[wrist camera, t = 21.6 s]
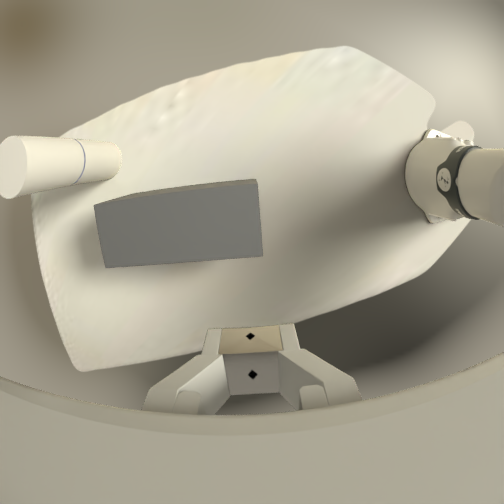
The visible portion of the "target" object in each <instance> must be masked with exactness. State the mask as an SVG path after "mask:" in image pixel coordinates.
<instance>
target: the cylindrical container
mask: <svg viewBox="0 0 504 504" xmlns="http://www.w3.org/2000/svg"><path fill="white" fill-rule="evenodd" d="M121 164H122V155H121V151H120V149H119V148H118V146H116V145H115V144H114V143H111V142H104V141H94V140H83V139H71V138H57V137H38V136H37V137H36V136H10V137H8V138H6V139H5V140H4V141H3V142H2V143H1V144H0V195H1V196H2V197H4V198H7V199H10V198H15V197H19V196H23V195H28V194H32V193H37V192H41V191H46V190H51V189H56V188H61V187H66V186H71V185H77V184H83V183H89V182H95V181H102V180H108V179H111V178H113V177H114V176H115V175H116V174H117V173H118V171H119V170H120V167H121Z"/></svg>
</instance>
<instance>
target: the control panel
mask: <svg viewBox="0 0 504 504" xmlns="http://www.w3.org/2000/svg"><path fill="white" fill-rule="evenodd" d="M94 211H95V217H96V223H97V228H98V234H99V239H100V244H101V249H102V253H103V258H104V262H105V267H106V268H114V267H128V266H142V265H156V264H169V263H183V262H196V261H209V260H222V259H235V258H248V257H261V256H263V249H262V235H261V222H260V209H259V197H258V184H257V181H256V179H248V180H236V181H226V182H216V183H207V184H198V185H190V186H182V187H174V188H167V189H160V190H153V191H147V192H140V193H134V194H130V195H126V196H123V197H119V198H116V199H112V200H109V201H105V202H102V203H99V204H95V205H94Z"/></svg>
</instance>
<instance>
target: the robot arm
mask: <svg viewBox="0 0 504 504" xmlns="http://www.w3.org/2000/svg"><path fill="white" fill-rule="evenodd" d="M436 136H437V137H436ZM405 178H406V185H407V189H408V192H409V194H410V196H411V198H412V199H413V201H414V202H415V203H416V205H417V206H419V207H420V208H421V209H422V210H423V211H424V212H425V215H426V217H427V219H428V220H429V222H430V223H438V222H441V221H445V220H451V221H456V219H460V218H462V217H465V218H469V219H475V220H479V219H482V220H485V221H488V222H491V223H493V224H496V225H499V226H502V227H504V148H501V149H483V148H481V147H478V146H474V143H473V142H472V141H469V140H464V142H463V139H461V138H457V139H455V138H453V137H450V136H448V135H446V134H444V133H441V132H439V131H436V130H434V129H429V130H428V131H427V132H426V134H425V136H424V138H423V140H422V141H421V142H420V143H418V144H417V145H416V146H415V147H414V148H413V149H412V151H411V152H410V154H409V157H408V159H407V163H406V169H405ZM437 217H438V218H437ZM277 392H280V394H281V395H282V396H283V397H284V398H285V399H286V400H287V401H288V402H289V403H290V404H291V405H292V406H293V407H294V409H295V410H296V411H291V412H281V413H267V414H248V415H215V414H216V412H217V411H218V410H219V409H220V407H222V405H223V404H224V403H225V402H226V401H227V399H228V398H229V397H230V395H240V394H256V393H277ZM0 504H504V352H502V353H500V354H498V355H496V356H494V357H492V358H490V359H487V360H485V361H483V362H481V363H478V364H476V365H474V366H472V367H469V368H467V369H464V370H462V371H459V372H457V373H454V374H452V375H449V376H446V377H443V378H440V379H437V380H434V381H432V382H428V383H426V384H423V385H419V386H416V387H413V388H409V389H406V390H402V391H398V392H395V393H391V394H387V395H383V396H379V397H375V398H370V399H366V400H362V397H361V395H360V392H359V390H358V388H357V385H356V383H355V381H354V378H352V377H351V376H349V375H347V374H345V373H344V372H342V371H340V370H339V369H337V368H335V367H334V366H332V365H330V364H329V363H327V362H325V361H323V360H322V359H320V358H319V357H317V356H315V355H314V354H312V353H310V352H308V351H307V350H306V349H300V346H299V343H298V338H297V334H296V330H295V327H294V324H293V323H289V324H281V325H272V326H262V327H242V328H223V329H222V328H213V329H208V330H207V334H206V338H205V342H204V346H203V350H202V354H201V355H197V356H195V357H194V358H193V359H191V360H190V361H189V362H187V363H186V364H184V365H183V366H181V367H180V368H179V369H177V370H176V371H175V372H173V373H172V374H170V375H169V376H167V377H166V378H164V379H163V380H161V381H160V382H158V383H157V384H156V385H154V386H153V387H151V388H150V389H149V392H148V394H147V397H146V400H145V401H144V404H143V407H142V409H141V410H132V409H125V408H119V407H112V406H106V405H100V404H95V403H90V402H86V401H81V400H76V399H72V398H68V397H64V396H60V395H56V394H52V393H49V392H45V391H42V390H38V389H35V388H32V387H29V386H26V385H23V384H20V383H17V382H14V381H11V380H8V379H6V378H3V377H1V376H0Z"/></svg>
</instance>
